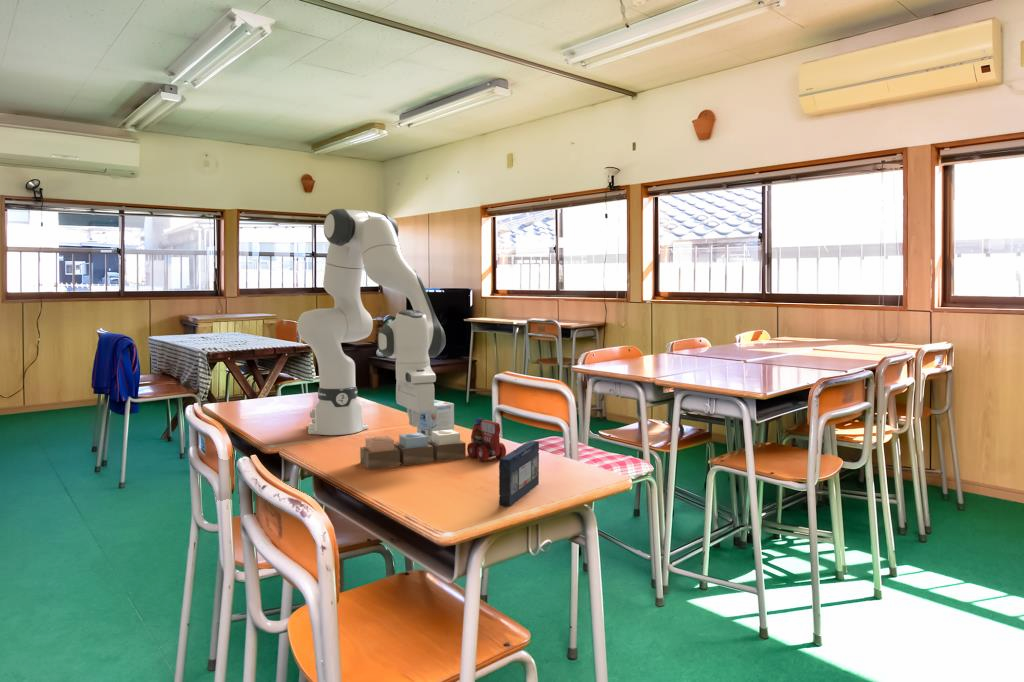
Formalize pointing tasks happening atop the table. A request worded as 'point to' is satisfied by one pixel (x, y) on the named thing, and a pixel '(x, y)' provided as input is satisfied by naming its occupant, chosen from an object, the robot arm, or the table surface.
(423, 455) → the walnut bases
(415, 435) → the slate block
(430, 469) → the table surface
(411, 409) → the robot arm
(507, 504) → the vhs cassette tape
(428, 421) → the light bulb box
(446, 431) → the cream block
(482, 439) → the toy fire truck
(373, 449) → the terracotta block
